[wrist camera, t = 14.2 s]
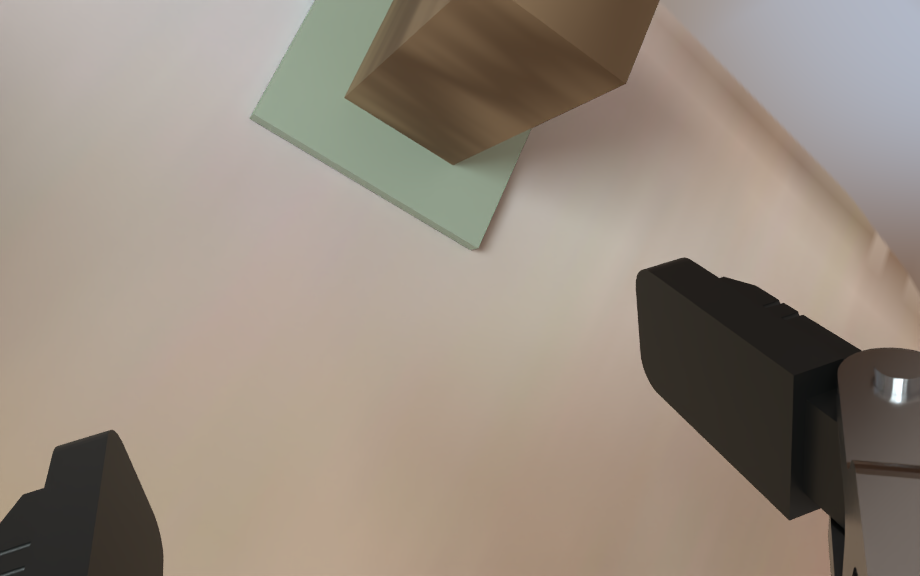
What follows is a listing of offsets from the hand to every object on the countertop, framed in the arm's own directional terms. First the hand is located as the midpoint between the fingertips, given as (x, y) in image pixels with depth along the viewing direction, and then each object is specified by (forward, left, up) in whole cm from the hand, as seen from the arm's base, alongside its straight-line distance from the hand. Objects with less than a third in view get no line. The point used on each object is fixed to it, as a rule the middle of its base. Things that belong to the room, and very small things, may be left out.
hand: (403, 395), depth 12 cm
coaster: (+1, +12, -15) cm, 19 cm away
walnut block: (+1, +12, -14) cm, 19 cm away
